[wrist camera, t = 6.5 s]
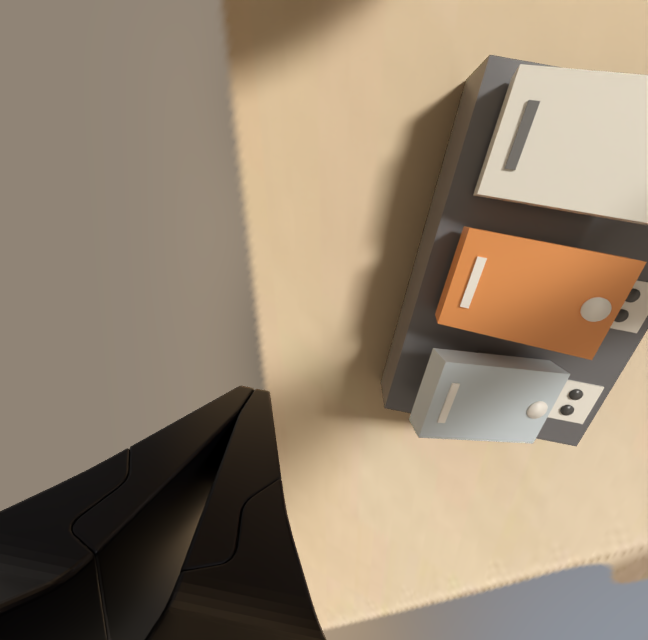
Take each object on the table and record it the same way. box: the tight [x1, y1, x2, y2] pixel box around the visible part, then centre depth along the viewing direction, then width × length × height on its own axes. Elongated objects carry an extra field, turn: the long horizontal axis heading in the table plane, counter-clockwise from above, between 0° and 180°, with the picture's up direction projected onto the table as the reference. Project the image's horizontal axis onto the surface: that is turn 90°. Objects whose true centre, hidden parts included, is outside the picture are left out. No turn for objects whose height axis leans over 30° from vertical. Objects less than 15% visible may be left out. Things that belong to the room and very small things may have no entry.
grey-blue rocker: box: [409, 348, 570, 443], centre depth 17 cm, size 7×5×2 cm, turn 80°
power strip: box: [381, 55, 648, 446], centre depth 17 cm, size 12×18×4 cm, turn 170°
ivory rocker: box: [473, 64, 648, 225], centre depth 13 cm, size 7×5×2 cm, turn 80°
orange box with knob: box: [435, 226, 647, 360], centre depth 15 cm, size 7×5×2 cm, turn 80°
